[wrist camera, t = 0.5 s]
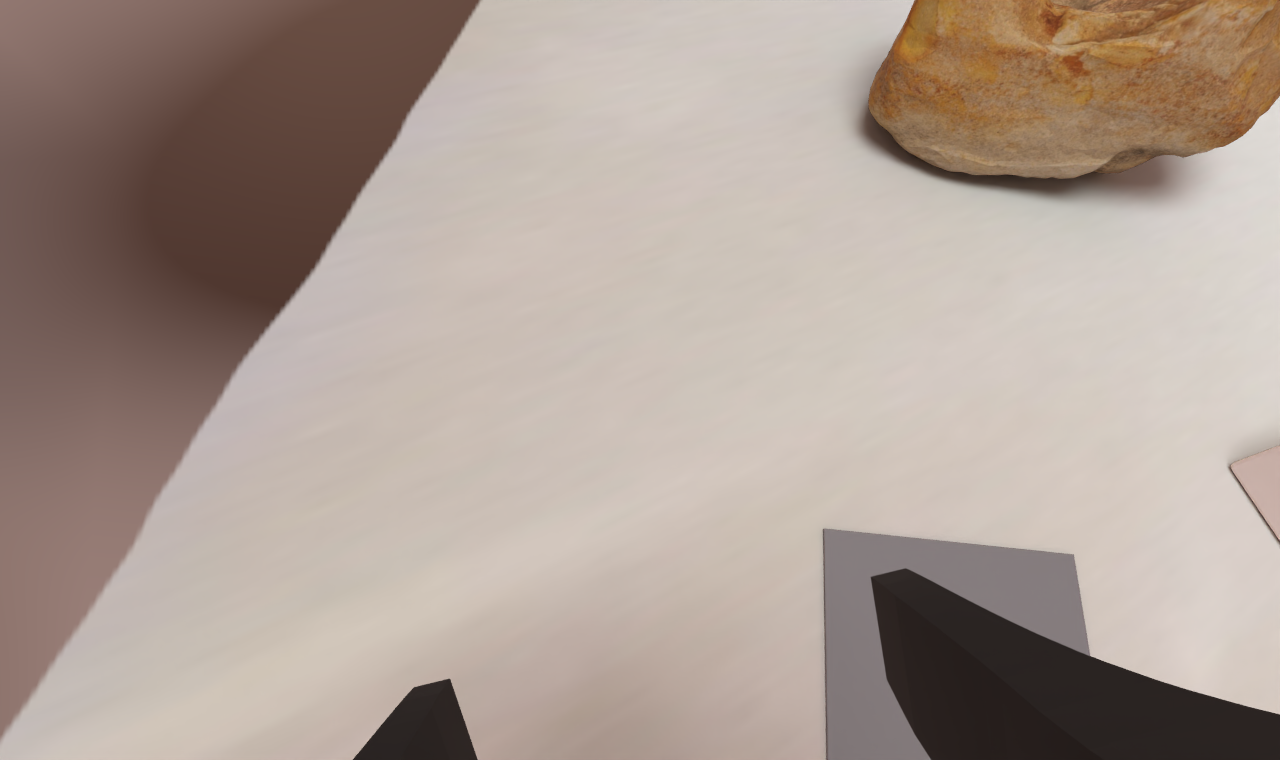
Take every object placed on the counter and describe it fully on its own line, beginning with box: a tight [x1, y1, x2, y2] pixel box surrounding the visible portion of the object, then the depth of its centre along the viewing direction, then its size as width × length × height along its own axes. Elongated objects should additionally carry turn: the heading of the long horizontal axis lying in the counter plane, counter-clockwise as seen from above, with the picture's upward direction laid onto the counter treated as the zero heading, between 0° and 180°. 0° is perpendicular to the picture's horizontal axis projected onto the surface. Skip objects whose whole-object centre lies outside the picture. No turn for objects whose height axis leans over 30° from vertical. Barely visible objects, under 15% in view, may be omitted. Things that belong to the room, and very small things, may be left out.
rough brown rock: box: [868, 0, 1280, 179], centre depth 47 cm, size 23×17×15 cm
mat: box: [823, 529, 1090, 760], centre depth 36 cm, size 15×14×1 cm
